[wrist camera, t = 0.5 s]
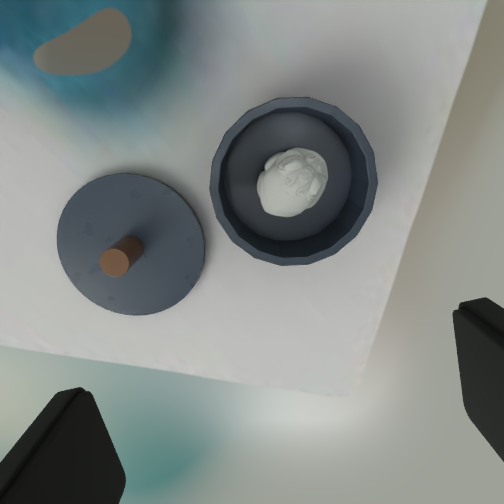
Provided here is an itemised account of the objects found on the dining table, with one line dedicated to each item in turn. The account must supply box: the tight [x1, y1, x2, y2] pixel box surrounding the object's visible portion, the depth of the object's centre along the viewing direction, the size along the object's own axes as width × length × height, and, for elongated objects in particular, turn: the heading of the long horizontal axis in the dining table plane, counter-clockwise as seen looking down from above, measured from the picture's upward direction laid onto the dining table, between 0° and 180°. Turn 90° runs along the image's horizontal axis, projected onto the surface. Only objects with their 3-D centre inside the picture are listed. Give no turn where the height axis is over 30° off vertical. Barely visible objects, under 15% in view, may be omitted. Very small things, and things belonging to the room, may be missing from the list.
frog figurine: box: [257, 147, 328, 217], centre depth 36 cm, size 6×7×7 cm
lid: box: [57, 173, 205, 315], centre depth 39 cm, size 16×16×6 cm
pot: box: [210, 97, 378, 266], centre depth 37 cm, size 15×15×6 cm
